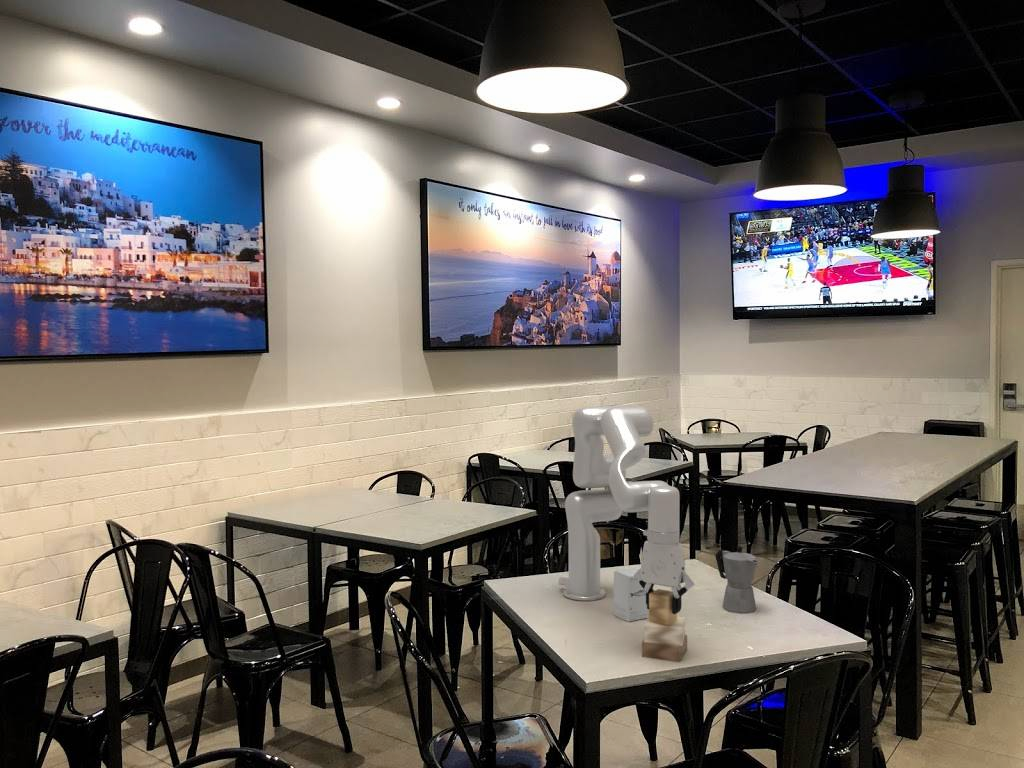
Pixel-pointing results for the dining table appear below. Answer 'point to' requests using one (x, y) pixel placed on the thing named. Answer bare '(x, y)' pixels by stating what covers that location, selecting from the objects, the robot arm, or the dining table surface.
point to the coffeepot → (738, 580)
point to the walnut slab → (664, 651)
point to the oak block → (661, 607)
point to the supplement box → (629, 596)
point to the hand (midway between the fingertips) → (663, 609)
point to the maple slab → (665, 632)
